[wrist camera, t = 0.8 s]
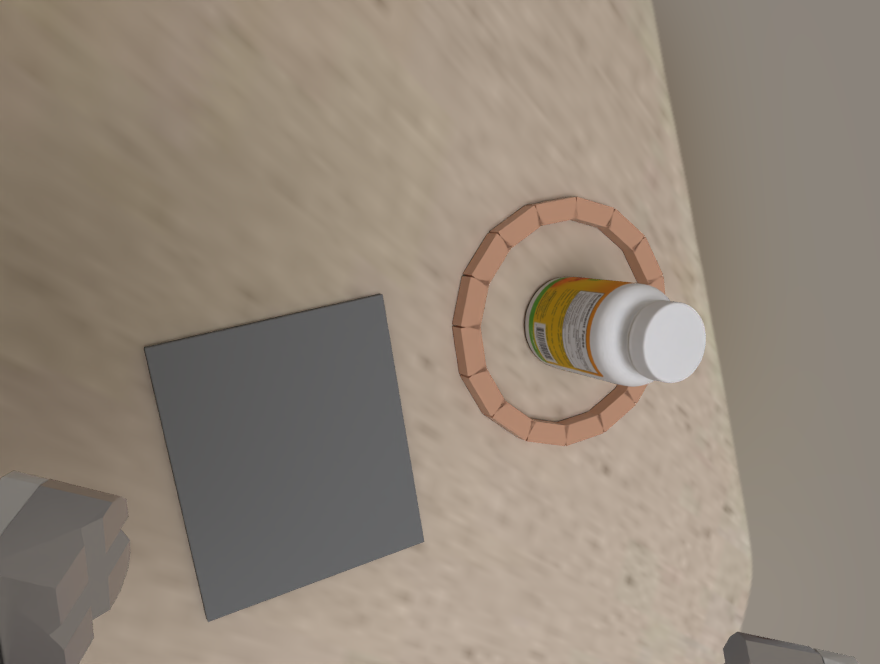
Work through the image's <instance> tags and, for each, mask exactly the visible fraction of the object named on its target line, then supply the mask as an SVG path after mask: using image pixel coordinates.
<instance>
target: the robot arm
mask: <svg viewBox="0 0 880 664" xmlns="http://www.w3.org/2000/svg"><path fill="white" fill-rule="evenodd" d="M128 517H129V516H128V507H127V499H125V498H123V497H121V496H117V495H113V494H109V493H105V492H101V491H97V490H93V489H89V488H85V487H80V486H76V485H72V484H68V483H64V482H60V481H56V480H52V479H47V478H43V477H38V476H34V475H30V474H26V473H22V472H17V471H12V472H10V473H8V474H7V475H5V476H3V477H2V478H0V664H79V663H80V661H81V659H82V658H83V656H84V654H85V652H86V651H87V649H88V647H89V646H90V644H91V642H92V640H93V639H94V633H93V622H92V620H93V619H95V618H97V617H98V616H100V615H102V614H103V613H105V612H107V611H108V610H110V609H111V607H112V605H113V604H114V602H115V600H116V598H117V596H118V594H119V593H120V591H121V588H122V585H123V582H124V579H125V577H126V574H127V571H128V566H129V560H130V540H129V538H128V537H127V536H126V535H125V534H124V532H123V531H122V530H121V528H122V527H123V525H124V523H125V522H126V520H127V518H128ZM723 651H724V657H725V663H724V664H860V663H859V662H858V661H857V660H856V658H855V657H852V656H847V655H843V654H838V653H834V652H829V651H824V650H820V649H812V648H811V647H809V646H804V645H799V644H794V643H789V642H784V641H780V640H775V639H770V638H765V637H760V636H756V635H751V634H746V633H741V632H736V633H735V634H733V635H732V636H730V638H729V639H728V641H727V643H726V644H725V646H724V648H723Z"/></svg>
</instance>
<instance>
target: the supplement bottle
mask: <svg viewBox="0 0 880 664" xmlns="http://www.w3.org/2000/svg"><path fill="white" fill-rule="evenodd" d="M525 331H526V338H527V341H528V344H529V346H530V348H531V350H532V351H533V353H534V354H535V355H536V357H537V358H538V359H540V360H541V361H542V362H544V363H545V364H547V365H549V366H552V367H555V368H558V369H562V370H566V371H569V372H573V373H577V374H581V375H585V376H588V377H592V378H596V379H600V380H604V381H607V382H611V383H614V384H618V385H623V386H630V387H636V386H642V385H646V384H649V383H651V382H653V381H660V382H665V383H675V382H679V381H682V380H684V379H686V378H687V377H689V376H690V375H691V374H692V373H693V372H694V371H695V370H696V368H697V367H698V365H699V363H700V362H701V359H702V357H703V354H704V350H705V345H706V333H705V328H704V324H703V321H702V319H701V317H700V316H699V314H698V313H697V312H696V310H694V309H693V308H692V307H691V306H689V305H687V304H684V303H680V302H674V301H670V300H669V298H668V297H667V296H666V295H665V294H664V293H663V292H661V291H660V290H658V289H657V288H655V287H652V286H649V285H645V284H640V283H631V282H621V281H611V280H600V279H591V278H581V277H560V278H556V279H553V280H551V281H549V282H547V283H546V284H545V285H543V286H542V287H541V288H540V289H539V290H538V291H537V292H536V294H535V295H534V297H533V298H532V300H531V302H530V304H529V306H528V309H527V313H526V319H525Z"/></svg>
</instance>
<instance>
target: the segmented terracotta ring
mask: <svg viewBox="0 0 880 664" xmlns="http://www.w3.org/2000/svg"><path fill="white" fill-rule="evenodd" d="M566 220H572V221H576V222H579V223H583V224H586V225H590V226H594V227H597V228H598V229H599V230H601V231H602V232H603V233H604V234H605V235H606V236H607V237H608V238H609V239H611V240H612V241H613V242H614V243H615V244H616V245H617V246H618V247H619V248H621V249H622V251H623V253H624V255H625V257H626V259H627V261H628V263H629V265H630V267H631V269H632V272H633V274H634V276H635V278H636V280H637V282H638V283H640V284H645V285H649V286H652V287H655V288H657V289H658V290H660V291H661V292H663V293H664V294H665V287H664V277H663V276H662V275H663V274H662V271H661V269H660V267H659V265H658V263H657V261H656V258H655V256H654V254H653V252H652V250H651V248H650V245H649V243H648V241H647V239H646V237H644V236H645V235H643V234H642V233H641V232H640V231H639V230H638V229H637V228H636V227H635V226H634V225H633V224H632V223H631V222H629V221H628V220H627V219H626V218H625V217H624V216H623V215H622V214H621V213H620V212H619V211H618V210H616V209H614V208H613V207H609V206H606V205H602V204H599V203H596V202H592V201H589V200H586V199H582V198H579V197H565V198H560V199H555V200H549V201H544V202H539V203H534V204H529V205H526V206H524V207H522V208H521V209H519V210H518V211H517V212H515V213H514V214H513V215H511V216H510V217H509V218H507V219H506V220H504V221H503V222H502V223H500V224H499V225H498V226H496V227H495V228H494V229H492V230H491V231H490V233H488V234H487V235H486V237H485V239H484V240H483V242H482V244H481V245H480V247H479V248H478V250H477V252H476V253H475V255H474V257H473V258H472V260H471V261H470V263H469V265H468V266H467V268H466V270H465V271H464V273H463V274H464V275H465V276H462V279H461V283H460V288H459V293H458V298H457V303H456V308H455V313H454V318H453V323H452V324H453V325H456V326H452V329H453V335H454V342H455V348H456V355H457V361H458V368H459V374H461V375H460V376H461V378H462V380H463V381H464V383H465V385H466V386H467V388H468V390H469V391H470V393H471V395H472V397H473V398H474V400H475V402H476V403H477V405H478V407H479V408H480V410H481V412H482V413H483V414H484V415H485V416H487V417H488V418H490V419H491V420H492V421H494V422H495V423H497V424H498V425H500V426H501V427H503V428H504V429H506V430H507V431H509V432H510V433H512V434H513V435H514V436H516V437H518V438H520V439H523V440H525V441H529V442H537V443H545V444H553V445H561V446H565V445H566V446H568V445H570V444H573V443H576V442H579V441H582V440H585V439H588V438H591V437H594V436H597V435H599V434H602V433H603V432H606V431H607V430H608V429H609V428H610V427H611V426H613V425H614V424H615V423H616V422H617V421H618V420H619V419H620V418H622V417H623V416H624V415H625V414H626V413H627V412H628V411H629V410H631V409H632V408H633V407H634V406H635V403H637V402H638V401H639V399H640V397H641V395H642V393H643V392H644V390H645V388H646V386H647V385H648V384H646V385H642V386H636V387H630V386H623V385H617V386H616V388H615V389H614V390H613V391H612V392H611V393H610V394H608V395H607V396H606V397H605V398H604V399H603V400H602V401H600V402H599V403H598V404H597V405H596V406H595V407H593V408H592V409H591V410H590V411H589V412H586V413H583V414H580V415H577V416H574V417H571V418H568V419H565V420H562V421H559V422H553V421H546V420H538V419H531V418H529V417H527V416H526V415H524V414H523V413H522V412H520V411H519V410H517V409H516V408H514V407H513V406H512V405H510V404H509V403H507V402H506V401H505V399H504V398H503V396H502V394H501V393H500V391H499V389H498V387H497V386H496V384H495V382H494V380H493V379H492V377H491V375H490V373H489V372H488V370H487V368H486V362H485V355H484V348H483V341H482V334H481V327H480V326H481V321H482V316H483V312H484V307H485V302H486V297H487V292H488V287H489V284H490V282H491V280H492V279H493V277H494V275H495V274H496V272H497V270H498V269H499V267H500V266H501V264H502V262H503V261H504V259H505V257H506V256H507V254H508V252H509V251H510V249H511V248H512V247H514V246H515V245H516V244H518V243H519V242H520V241H522V240H523V239H524V238H526V237H527V236H528V235H530V234H531V233H532V232H534V231H535V230H536V229H538V228H539V227H540V226H542V225H547V224H552V223H557V222H562V221H566Z"/></svg>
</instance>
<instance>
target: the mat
mask: <svg viewBox="0 0 880 664" xmlns="http://www.w3.org/2000/svg"><path fill="white" fill-rule="evenodd" d="M144 351H145V355H146V359H147V364H148V368H149V372H150V376H151V381H152V385H153V389H154V394H155V398H156V402H157V407H158V411H159V415H160V420H161V424H162V428H163V433H164V437H165V441H166V446H167V450H168V454H169V459H170V463H171V467H172V472H173V476H174V480H175V485H176V489H177V493H178V498H179V502H180V506H181V510H182V515H183V519H184V523H185V528H186V532H187V536H188V541H189V545H190V549H191V554H192V558H193V562H194V567H195V571H196V575H197V580H198V584H199V588H200V593H201V597H202V601H203V606H204V610H205V614H206V619H207V621H208V622H209V621H212V620H215V619H217V618H220V617H223V616H225V615H228V614H231V613H234V612H236V611H239V610H242V609H244V608H247V607H250V606H252V605H255V604H258V603H260V602H263V601H266V600H269V599H271V598H274V597H277V596H279V595H282V594H285V593H287V592H290V591H293V590H295V589H298V588H301V587H304V586H306V585H309V584H312V583H314V582H317V581H320V580H322V579H325V578H328V577H330V576H333V575H336V574H338V573H341V572H344V571H347V570H349V569H352V568H355V567H357V566H360V565H363V564H365V563H368V562H371V561H373V560H376V559H379V558H382V557H384V556H387V555H390V554H392V553H395V552H398V551H400V550H403V549H406V548H408V547H411V546H414V545H417V544H419V543H422V542H424V538H423V532H422V526H421V520H420V514H419V508H418V502H417V496H416V490H415V484H414V478H413V472H412V467H411V461H410V455H409V449H408V443H407V437H406V431H405V425H404V419H403V413H402V407H401V401H400V395H399V389H398V383H397V377H396V372H395V366H394V360H393V354H392V348H391V342H390V336H389V330H388V324H387V318H386V312H385V306H384V300H383V295H382V294H377V295H373V296H369V297H364V298H360V299H355V300H351V301H347V302H342V303H338V304H333V305H329V306H324V307H320V308H316V309H311V310H307V311H302V312H298V313H294V314H289V315H285V316H280V317H276V318H272V319H267V320H263V321H258V322H254V323H249V324H245V325H241V326H236V327H232V328H227V329H223V330H219V331H214V332H210V333H205V334H201V335H197V336H192V337H188V338H183V339H179V340H174V341H170V342H166V343H161V344H157V345H152V346H148V347H144Z"/></svg>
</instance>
